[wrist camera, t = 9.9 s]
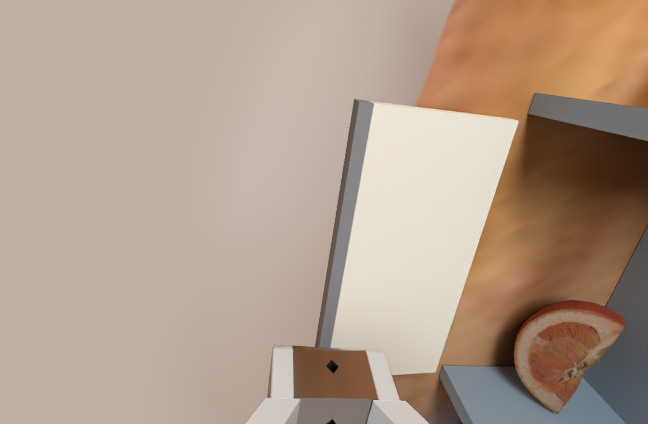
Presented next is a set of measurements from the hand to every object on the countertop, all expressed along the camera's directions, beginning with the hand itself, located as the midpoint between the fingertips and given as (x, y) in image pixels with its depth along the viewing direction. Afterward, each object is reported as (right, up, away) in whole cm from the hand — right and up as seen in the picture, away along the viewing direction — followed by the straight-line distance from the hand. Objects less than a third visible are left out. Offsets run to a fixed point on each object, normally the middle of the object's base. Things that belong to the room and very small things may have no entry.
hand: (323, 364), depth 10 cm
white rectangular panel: (+10, +1, +15) cm, 18 cm away
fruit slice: (+17, -5, +19) cm, 26 cm away
